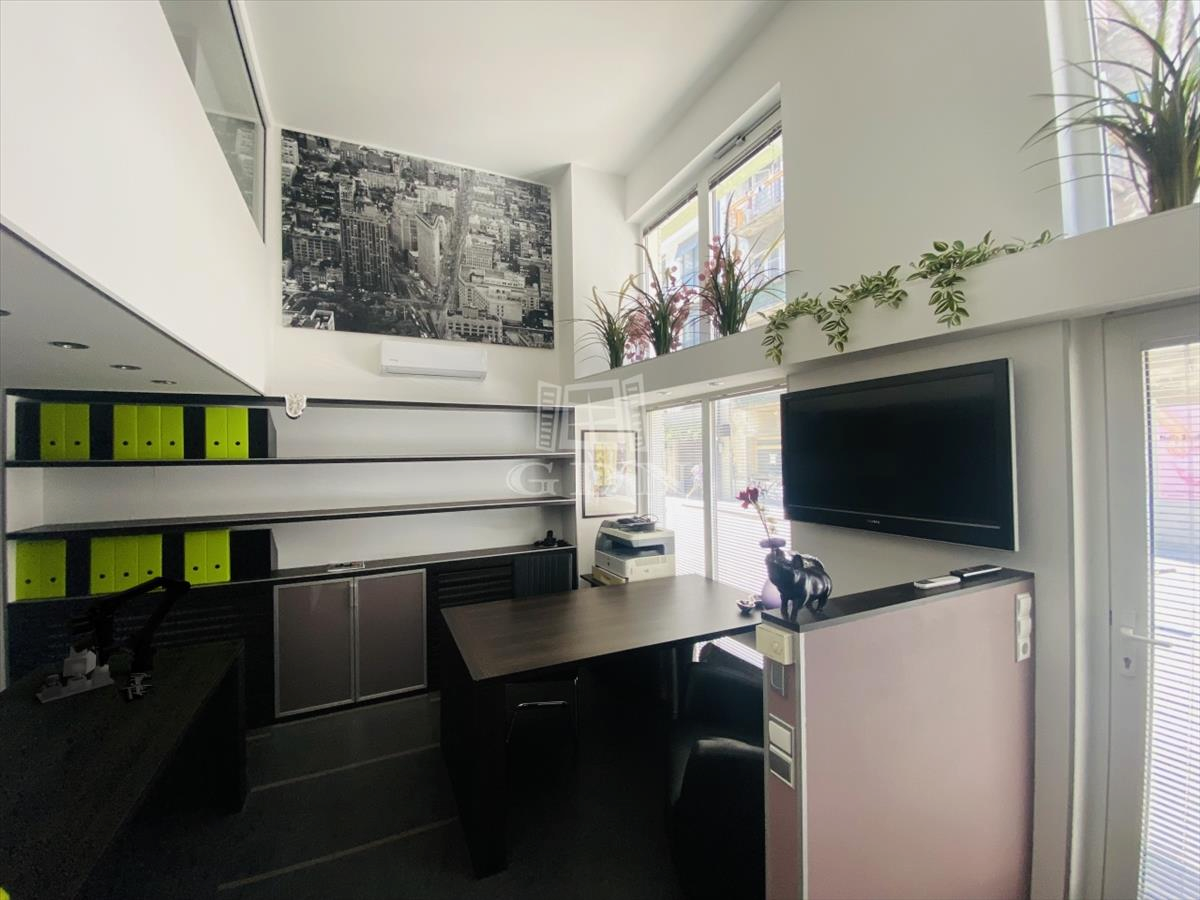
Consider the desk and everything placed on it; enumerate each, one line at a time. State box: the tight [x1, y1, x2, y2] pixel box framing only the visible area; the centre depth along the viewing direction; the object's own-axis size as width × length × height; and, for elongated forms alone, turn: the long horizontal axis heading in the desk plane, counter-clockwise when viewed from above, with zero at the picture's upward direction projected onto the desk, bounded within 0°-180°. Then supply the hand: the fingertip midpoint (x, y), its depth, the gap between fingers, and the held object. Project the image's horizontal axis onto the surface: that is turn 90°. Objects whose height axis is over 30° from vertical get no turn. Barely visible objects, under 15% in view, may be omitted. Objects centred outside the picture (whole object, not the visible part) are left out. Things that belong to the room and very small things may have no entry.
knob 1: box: [70, 663, 86, 681], centre depth 182 cm, size 4×4×6 cm
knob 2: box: [93, 664, 109, 675], centre depth 188 cm, size 4×4×6 cm
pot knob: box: [45, 673, 60, 687], centre depth 177 cm, size 3×3×4 cm
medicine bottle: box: [62, 646, 97, 678], centre depth 196 cm, size 7×7×12 cm
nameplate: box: [117, 672, 154, 703], centre depth 185 cm, size 28×2×10 cm
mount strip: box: [36, 670, 115, 704], centre depth 182 cm, size 19×9×4 cm, turn 149°
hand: (101, 666), depth 188 cm, fingers closed, pressing on knob 2
